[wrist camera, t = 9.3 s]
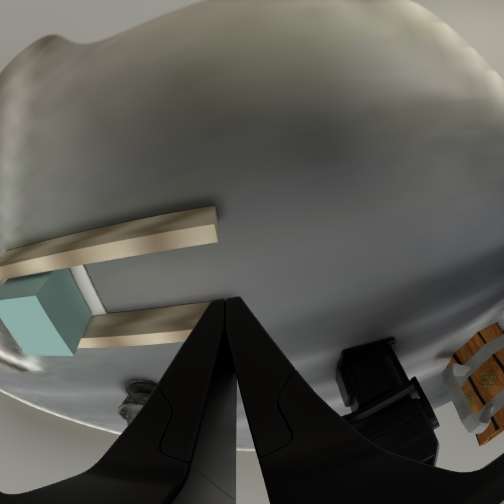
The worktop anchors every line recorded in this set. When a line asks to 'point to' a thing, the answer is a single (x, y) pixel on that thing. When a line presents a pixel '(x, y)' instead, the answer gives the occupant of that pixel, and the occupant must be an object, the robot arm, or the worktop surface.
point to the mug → (479, 383)
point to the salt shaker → (135, 398)
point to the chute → (114, 247)
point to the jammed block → (44, 312)
